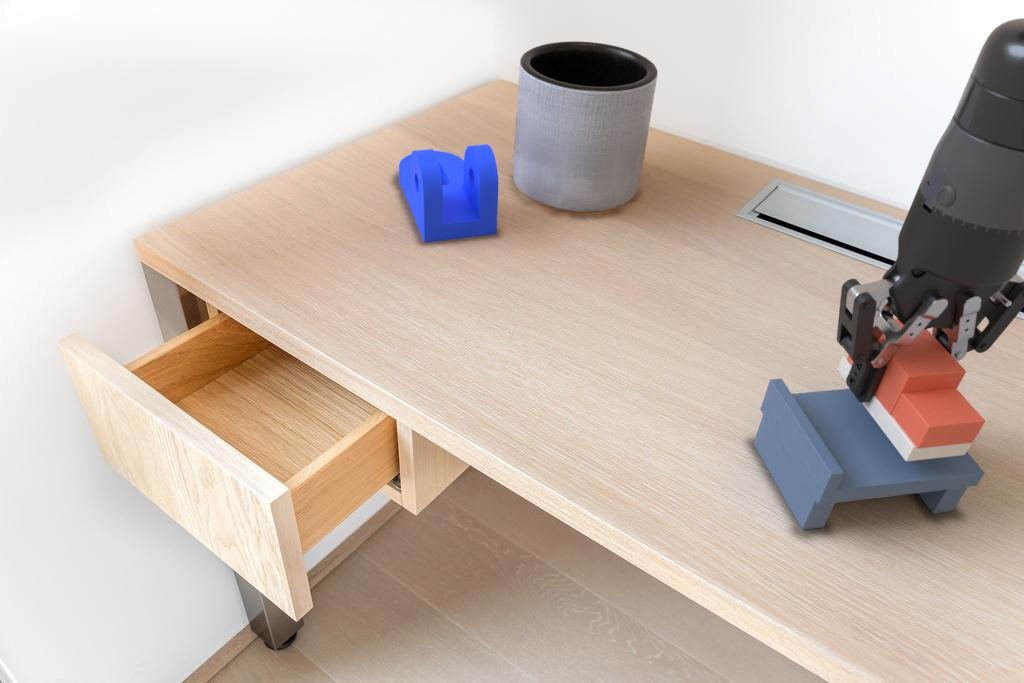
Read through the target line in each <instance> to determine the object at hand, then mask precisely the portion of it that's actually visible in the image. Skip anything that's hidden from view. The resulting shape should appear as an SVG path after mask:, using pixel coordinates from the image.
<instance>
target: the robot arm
mask: <svg viewBox="0 0 1024 683" xmlns="http://www.w3.org/2000/svg"><path fill="white" fill-rule="evenodd" d="M897 250H898V251H897V258H896V260H895V261H894V263H893V264H892V265H891V266H890V267H889V268H888V269H887V270H886V271H885V272H884V274H883V276H882V279H878V280H875V281H872V282H868V283H865V284H861V283H860V282H859V281H858V280H857V279H856V278H849V279H847V280H846V281H845V282H844V283H843V284H842V286H841V291H840V300H839V309H838V310H839V311H838V319H837V320H838V321H837V330H836V331H837V332H836V342H837V343H838V344H839V345H840V346H841V347H842V348H843V349H844V351H845V352H846V353H847V354H848V355H849V356H850V358H851V359H852V360H853V365H852V367H851V370H850V372H849V374H848V376H847V379H846V381H845V383H846V385H847V387H848V389H850V390H851V392H852V393H853V394H854V396H855V397H856V398H857V400H858V401H859V402H861V403H863V402H870V401H871V400H872V398H873V396H874V395H875V393H876V391H877V388H878V386H879V384H880V382H881V380H882V378H883V375H884V373H885V371H886V369H887V367H886V366H885V365H886V364H887V363H888V362H889V360H890V359H891V358H892V357H893V356H894V355H895V353H896V352H897V351H898V350H899V349H900V348H901V347H908V346H910V345H911V344H912V342H913V341H914V340H915V339H916V338H917V337H918V335H919V334H920V333H921V332H922V331H923V330H925V329H927V330H928V329H932V332H931V334H932V335H933V336H934V337H935V338H936V340H937V341H938V342H939V343H940V344H941V345H942V346H943V347H944V348H945V349H946V350H947V351H948V352H949V353H950V354H951V356H952V357H953V358H954V359H955V360H956V361H957V362H959V361H962V360H963V359H964V358H965V357H966V356H967V353H969V352H971V351H975V352H976V353H978V354H983V353H985V352H987V351H988V350H989V349H990V348H991V347H992V346H993V345H994V343H995V342H996V341H997V340H998V339H999V337H1001V335H1002V334H1003V333H1004V332H1005V330H1007V328H1008V327H1009V325H1011V323H1012V322H1013V320H1014V319H1015V318H1016V317H1017V316H1018V315H1019V314H1020V312H1021V311H1022V310H1023V308H1024V278H1023V277H1022V276H1020V275H1019V274H1018V271H1019V270H1020V268H1021V266H1022V264H1023V263H1024V18H1021V17H1020V18H1015V19H1011V20H1007V21H1004V22H1002V23H1000V24H999V25H998V26H996V27H995V28H993V30H992V31H991V32H990V34H989V35H988V36H987V37H986V39H985V41H984V43H983V45H982V47H981V49H980V51H979V53H978V56H977V58H976V61H975V63H974V65H973V68H972V70H971V73H970V75H969V77H968V79H967V82H966V84H965V87H964V88H963V91H962V93H961V96H960V99H959V100H958V103H957V106H956V108H955V110H954V114H953V115H952V117H951V119H950V121H949V123H948V125H947V127H946V129H945V130H944V132H943V134H942V135H941V137H940V139H939V140H938V142H937V144H936V146H935V148H934V150H933V152H932V154H931V157H930V159H929V161H928V164H927V166H926V169H925V171H924V173H923V177H922V178H921V181H920V183H919V186H918V188H917V191H916V192H915V195H914V197H913V200H912V203H911V205H910V207H909V210H908V212H907V215H906V217H905V219H904V221H903V224H902V226H901V229H900V231H899V234H898V237H897ZM894 317H895V318H896V319H898V320H899V321H900V322H901V323H902V324H903V325H904V326H903V327H902V328H901V327H900V326H899V325H898V324H897V323H896V322H895V321H894V319H895V318H894ZM985 318H986V319H987V320H988V323H987V325H986V327H984V328H983V330H982V331H981V330H980V329H979V328H978V327H979V326H980V324H982V322H983V320H984V319H985ZM883 333H884V335H885V337H886V338H885V341H884V342H883V343H882V344H881V345H880V346H879V345H878V344H877V343H876V342H877V341H878V340H879V338H880V337H881V336H882V335H883Z"/></svg>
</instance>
